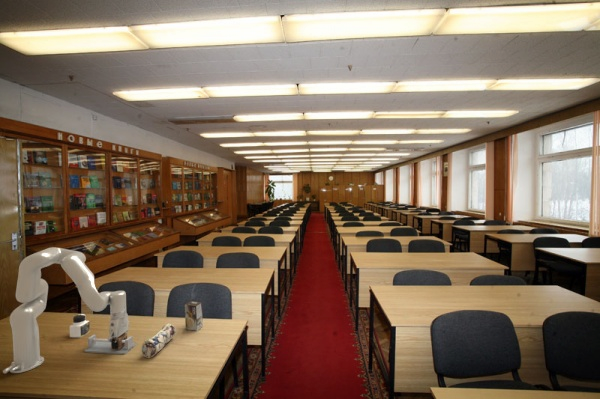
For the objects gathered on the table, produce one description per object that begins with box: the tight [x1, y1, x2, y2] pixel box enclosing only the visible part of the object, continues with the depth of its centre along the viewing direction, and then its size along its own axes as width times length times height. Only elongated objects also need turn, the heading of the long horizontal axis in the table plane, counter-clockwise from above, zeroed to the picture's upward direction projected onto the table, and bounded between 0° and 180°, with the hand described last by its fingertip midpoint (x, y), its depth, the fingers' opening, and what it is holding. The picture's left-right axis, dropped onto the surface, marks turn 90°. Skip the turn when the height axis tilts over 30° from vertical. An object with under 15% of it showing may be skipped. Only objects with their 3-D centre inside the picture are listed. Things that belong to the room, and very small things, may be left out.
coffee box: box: [184, 300, 204, 332], centre depth 183 cm, size 9×6×16 cm
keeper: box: [111, 332, 128, 350], centre depth 159 cm, size 6×5×6 cm
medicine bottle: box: [68, 313, 91, 338], centre depth 175 cm, size 7×7×12 cm
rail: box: [83, 334, 137, 355], centre depth 160 cm, size 9×24×6 cm, turn 85°
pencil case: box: [141, 322, 177, 359], centre depth 161 cm, size 22×8×10 cm, turn 175°
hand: (119, 344), depth 159 cm, fingers closed on keeper, 6 cm apart
